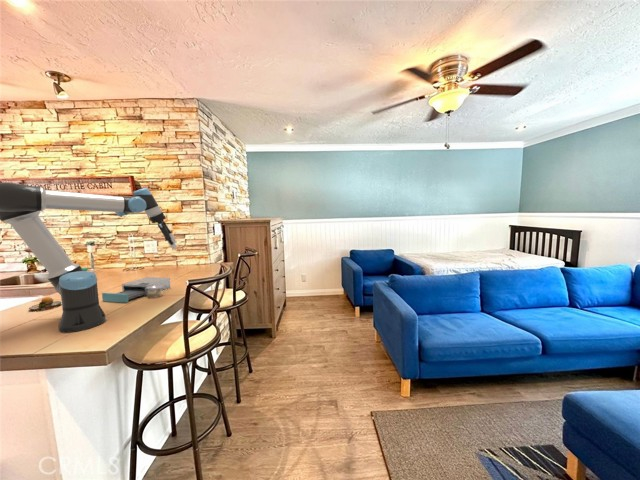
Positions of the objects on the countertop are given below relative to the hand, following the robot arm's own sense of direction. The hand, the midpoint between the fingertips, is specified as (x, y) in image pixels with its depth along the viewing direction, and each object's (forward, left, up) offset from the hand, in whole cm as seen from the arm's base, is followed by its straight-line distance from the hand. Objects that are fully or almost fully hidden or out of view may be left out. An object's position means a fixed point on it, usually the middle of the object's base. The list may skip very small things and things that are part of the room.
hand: (175, 245), depth 151 cm
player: (+1, +24, -30) cm, 39 cm away
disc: (-7, +10, -25) cm, 28 cm away
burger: (-33, +54, -31) cm, 71 cm away
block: (-7, +10, -30) cm, 33 cm away
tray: (-12, +24, -30) cm, 40 cm away
